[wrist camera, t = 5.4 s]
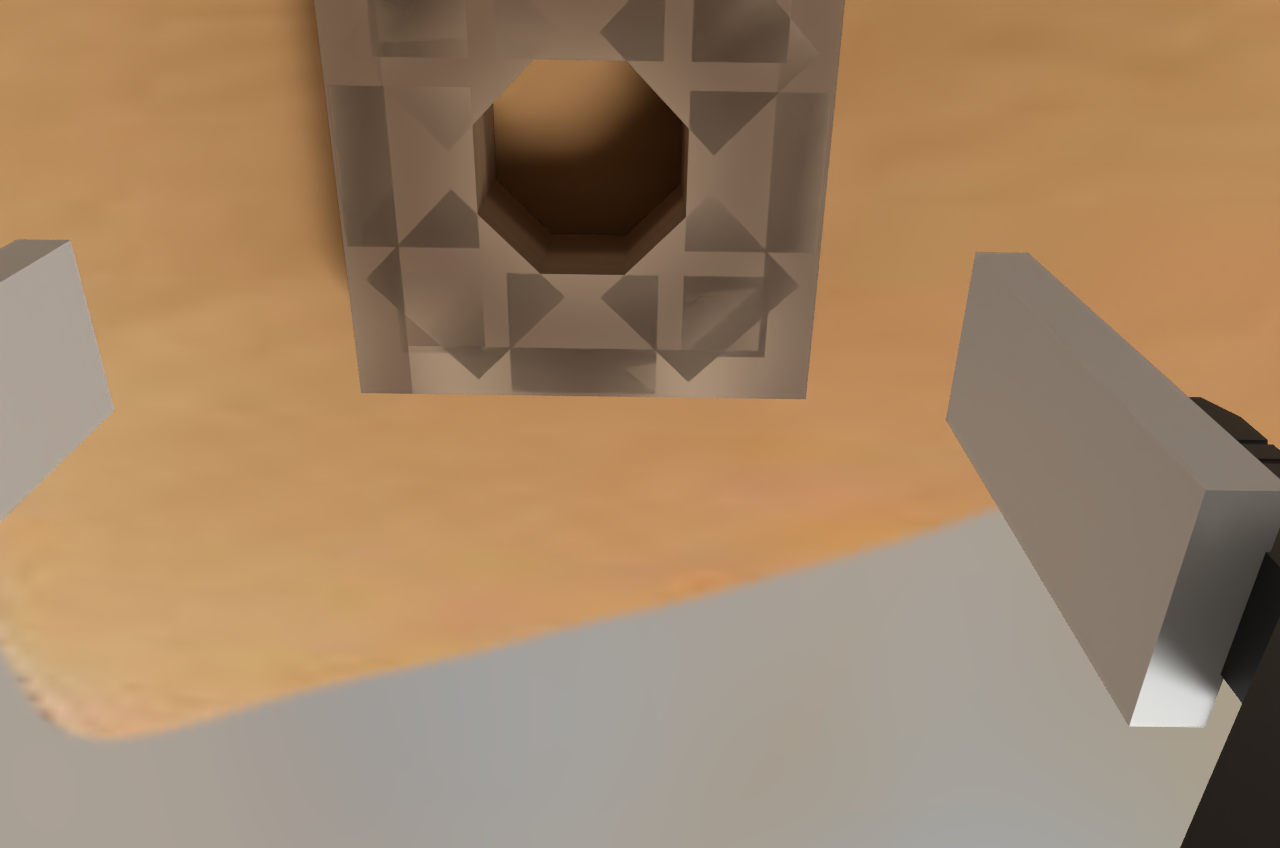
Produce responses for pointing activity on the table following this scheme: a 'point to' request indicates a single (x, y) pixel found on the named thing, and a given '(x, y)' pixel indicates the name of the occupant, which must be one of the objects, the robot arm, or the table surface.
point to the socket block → (581, 263)
